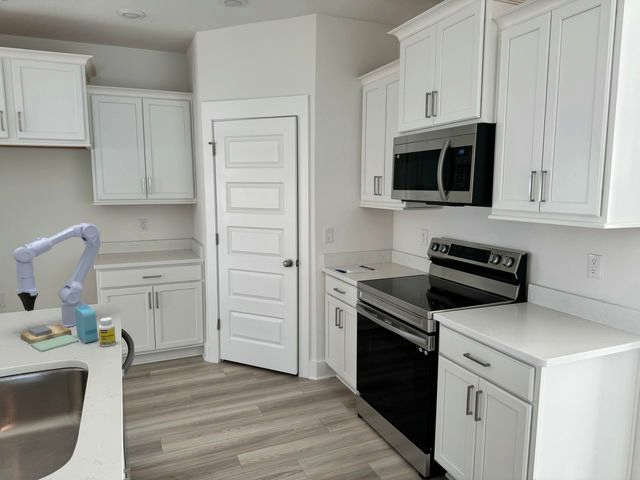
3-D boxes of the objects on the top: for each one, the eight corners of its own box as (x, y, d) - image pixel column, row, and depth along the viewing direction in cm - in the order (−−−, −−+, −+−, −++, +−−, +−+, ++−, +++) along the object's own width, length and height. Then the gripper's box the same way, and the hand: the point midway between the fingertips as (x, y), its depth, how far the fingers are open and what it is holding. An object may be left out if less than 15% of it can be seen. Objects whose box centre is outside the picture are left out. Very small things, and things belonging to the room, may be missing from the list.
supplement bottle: (100, 347, 162) (97, 322, 161) (99, 343, 167) (97, 318, 165) (116, 345, 164) (114, 319, 163) (115, 340, 169) (113, 315, 168)
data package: (98, 341, 169) (95, 310, 167) (85, 344, 166) (82, 313, 164) (89, 333, 178) (86, 304, 176) (77, 336, 175) (74, 306, 173)
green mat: (68, 335, 175) (67, 334, 175) (79, 341, 168) (79, 340, 168) (30, 345, 165) (30, 344, 165) (41, 352, 158) (41, 350, 158)
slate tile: (44, 328, 177) (43, 325, 177) (51, 333, 172) (51, 329, 172) (28, 332, 173) (28, 329, 173) (36, 337, 168) (35, 333, 168)
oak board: (59, 328, 184) (58, 323, 183) (71, 334, 176) (71, 329, 176) (20, 338, 173) (20, 333, 173) (31, 345, 165) (31, 339, 165)
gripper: (7, 276, 177) (11, 309, 179) (20, 281, 168) (24, 316, 170) (27, 273, 183) (31, 305, 184) (41, 278, 173) (44, 311, 175)
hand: (29, 310), depth 178 cm, fingers closed
